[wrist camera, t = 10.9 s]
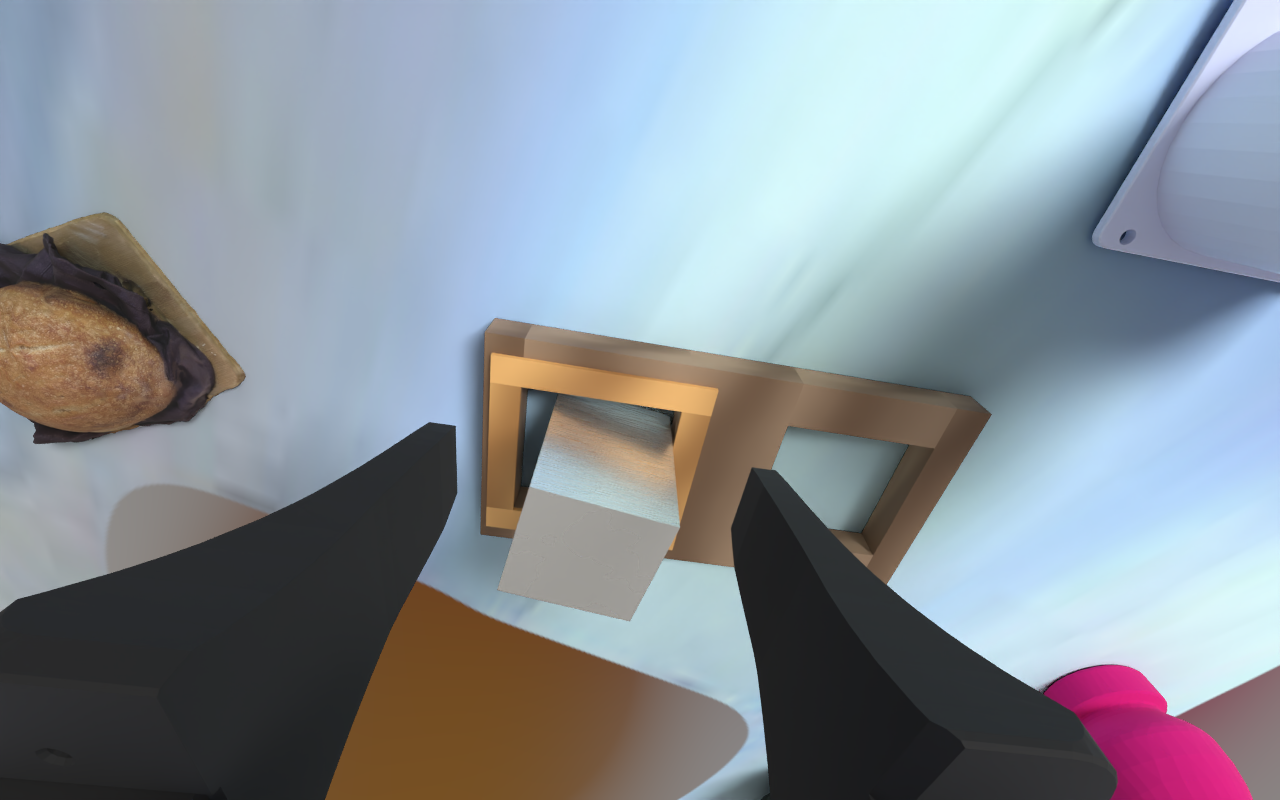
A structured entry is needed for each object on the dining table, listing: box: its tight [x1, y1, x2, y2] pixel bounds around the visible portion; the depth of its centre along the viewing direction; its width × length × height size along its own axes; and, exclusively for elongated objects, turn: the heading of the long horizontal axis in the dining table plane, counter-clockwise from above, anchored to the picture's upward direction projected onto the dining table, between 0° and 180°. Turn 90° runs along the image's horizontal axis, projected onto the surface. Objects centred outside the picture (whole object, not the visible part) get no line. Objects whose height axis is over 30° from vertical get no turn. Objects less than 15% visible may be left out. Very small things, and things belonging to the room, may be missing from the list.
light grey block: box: [497, 393, 680, 621], centre depth 20 cm, size 5×5×7 cm
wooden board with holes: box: [480, 318, 992, 585], centre depth 23 cm, size 20×10×2 cm, turn 80°
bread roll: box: [0, 213, 246, 444], centre depth 19 cm, size 11×9×4 cm
